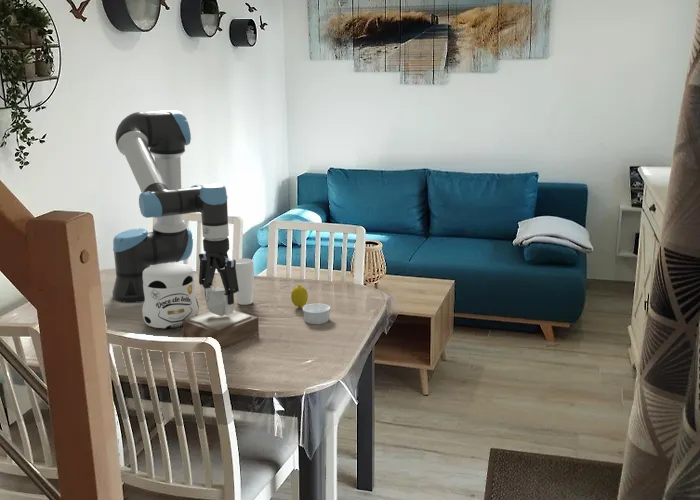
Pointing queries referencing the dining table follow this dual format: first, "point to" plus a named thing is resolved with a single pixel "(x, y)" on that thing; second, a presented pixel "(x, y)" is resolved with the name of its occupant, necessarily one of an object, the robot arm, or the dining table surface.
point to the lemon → (299, 296)
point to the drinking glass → (245, 281)
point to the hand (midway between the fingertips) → (219, 310)
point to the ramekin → (316, 313)
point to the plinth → (222, 327)
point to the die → (216, 301)
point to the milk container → (168, 295)
